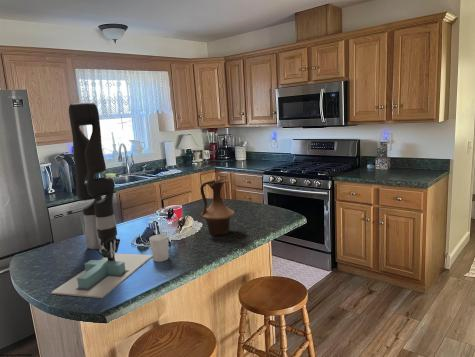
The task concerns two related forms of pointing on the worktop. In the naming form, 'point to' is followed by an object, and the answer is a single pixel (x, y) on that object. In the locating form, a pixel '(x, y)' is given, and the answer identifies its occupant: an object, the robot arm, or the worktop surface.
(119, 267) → the t block
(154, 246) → the white cup
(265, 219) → the worktop surface
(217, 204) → the pitcher
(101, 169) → the robot arm
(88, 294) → the mat
